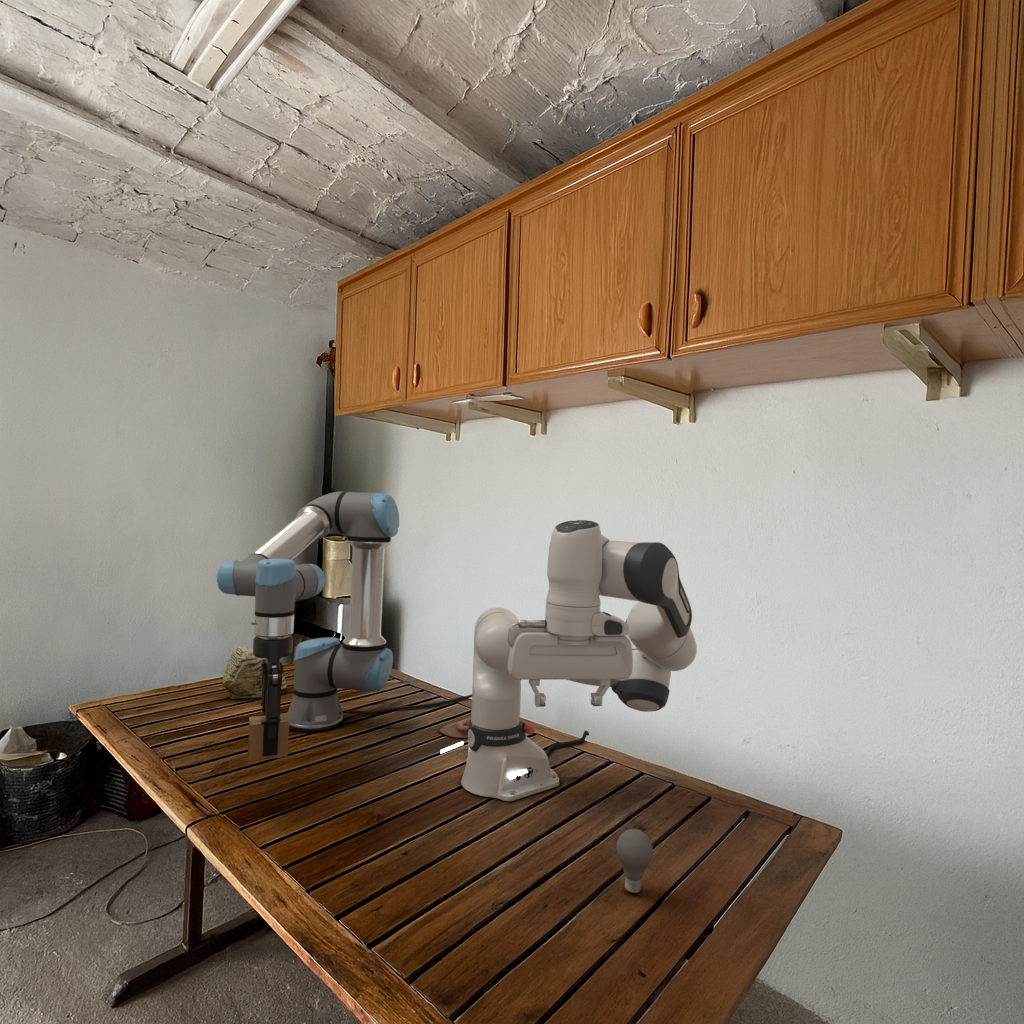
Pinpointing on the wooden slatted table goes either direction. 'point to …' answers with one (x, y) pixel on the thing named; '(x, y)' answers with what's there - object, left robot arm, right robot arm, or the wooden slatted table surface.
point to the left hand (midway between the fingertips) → (268, 749)
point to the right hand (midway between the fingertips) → (568, 705)
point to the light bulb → (634, 857)
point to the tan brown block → (257, 738)
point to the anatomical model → (457, 729)
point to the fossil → (245, 674)
